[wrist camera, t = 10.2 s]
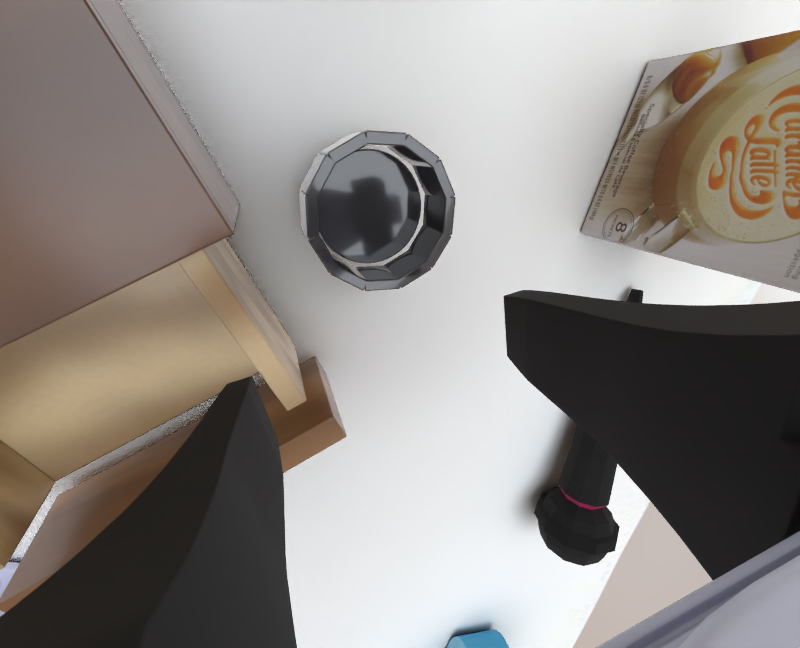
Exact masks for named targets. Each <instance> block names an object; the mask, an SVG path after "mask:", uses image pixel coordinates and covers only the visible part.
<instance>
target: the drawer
mask: <svg viewBox="0 0 800 648" xmlns="http://www.w3.org/2000/svg"><path fill="white" fill-rule="evenodd" d="M258 372H259V373H260V375H261V376H262V377H263V379H264V380H265V381H266V383H265V384H263V385H261V386H259V387H258V388H257V389H258V392H259V394H260V397H261V399H262V402H263V404H264V407H265V409H266V411H267V414H268V416H269V419H270V421H271V424H272V426H273V428H274V431H275V433H276V436H277V439H278V445H279V450H280V456H281V462H282V469H283V473H284V472H286V471H287V470H289V469H291V468H293V467H294V466H296V465H298V464H300V463H301V462H303V461H305V460H307V459H308V458H310V457H312V456H314V455H315V454H317V453H319V452H321V451H322V450H324V449H326V448H327V447H329V446H331V445H333V444H334V443H336V442H338V441H340V440H341V439H343V438H345V437H346V433H345V430H344V427H343V424H342V421H341V418H340V415H339V412H338V409H337V406H336V402H335V399H334V396H333V393H332V390H331V387H330V384H329V381H328V378H327V375H326V373H325V371H324V370H323V368H322V366H321V365H320V363H319V362H318V360H317V358H316V357H313V358H311V359H309V360H307V361H306V362H304V363H302V364H300V365H299V363H298V358H297V354H296V350H295V345H294V343H293V342H292V340H291V339H290V337H289V336H288V334H287V332H286V331H285V329H284V328H283V326H282V325H281V323H280V322H279V320H278V319H277V317H276V316H275V314H274V312H273V311H272V309H271V308H270V306H269V305H268V303H267V302H266V300H265V299H264V297H263V295H262V294H261V292H260V291H259V289H258V288H257V286H256V285H255V283H254V282H253V280H252V278H251V277H250V275H249V274H248V272H247V271H246V269H245V268H244V266H243V265H242V263H241V261H240V260H239V258H238V257H237V255H236V254H235V252H234V251H233V249H232V248H231V246H230V245H229V243H228V241H227V240H226V238H225V239H223V240H221V241H219V242H217V243H215V244H212V245H210V246H208V247H206V248H204V249H202V250H200V251H198V252H196V253H194V254H192V255H190V256H188V257H186V258H184V259H182V260H180V261H178V262H176V263H174V264H172V265H170V266H167V267H165V268H163V269H161V270H159V271H157V272H155V273H153V274H151V275H149V276H147V277H145V278H143V279H141V280H139V281H137V282H135V283H133V284H131V285H129V286H127V287H125V288H123V289H120V290H118V291H116V292H114V293H112V294H110V295H108V296H106V297H104V298H102V299H100V300H98V301H96V302H94V303H92V304H90V305H88V306H86V307H84V308H82V309H80V310H78V311H76V312H73V313H71V314H69V315H67V316H65V317H63V318H61V319H59V320H57V321H55V322H53V323H51V324H49V325H47V326H45V327H43V328H41V329H39V330H37V331H35V332H33V333H31V334H28V335H26V336H24V337H22V338H20V339H18V340H16V341H14V342H12V343H10V344H8V345H6V346H4V347H2V348H0V570H1V569H3V568H4V567H5V566H6V564H7V563H8V561H9V559H10V558H11V556H12V554H13V553H14V551H15V549H16V548H17V546H18V544H19V543H20V541H21V539H22V537H23V536H24V534H25V532H26V531H27V529H28V527H29V526H30V524H31V522H32V521H33V519H34V517H35V516H36V514H37V512H38V511H39V509H40V507H41V505H42V504H43V502H44V500H45V499H46V497H47V495H48V494H49V492H50V490H51V489H52V487H53V485H54V484H55V481H57V480H59V479H61V478H63V477H65V476H67V475H68V474H70V473H72V472H74V471H76V470H78V469H80V468H81V467H83V466H85V465H87V464H89V463H91V462H93V461H94V460H96V459H98V458H100V457H102V456H104V455H106V454H107V453H109V452H111V451H113V450H115V449H117V448H119V447H121V446H122V445H124V444H126V443H128V442H130V441H132V440H134V439H135V438H137V437H139V436H141V435H143V434H145V433H147V432H148V431H150V430H152V429H154V428H156V427H158V426H160V425H161V424H163V423H165V422H167V421H169V420H171V419H173V418H175V417H176V416H178V415H180V414H182V413H184V412H186V411H188V410H189V409H191V408H193V407H195V406H197V405H199V404H201V403H202V402H204V401H206V400H208V399H210V398H212V397H214V396H215V395H217V394H219V393H220V392H221V391H222V390H223V388H224V387H225V386H226V384H228V383H231V382H234V381H237V380H241V379H244V378H247V377H250V376H253V375H255V374H256V373H258ZM202 418H203V417H202ZM202 418H200V419H198V420H197V421H195V422H193V423H191V424H189V425H187V426H186V427H184V428H182V429H180V430H178V431H176V432H175V433H173V434H171V435H169V436H167V437H165V438H163V439H162V440H160V441H158V442H156V443H154V444H152V445H151V446H149V447H147V448H145V449H143V450H141V451H139V452H138V453H136V454H134V455H132V456H130V457H128V458H127V459H125V460H123V461H121V462H119V463H117V464H115V465H114V466H112V467H110V468H108V469H106V470H104V471H103V472H101V473H99V474H97V475H95V476H93V477H91V478H90V479H88V480H86V481H84V482H82V483H80V484H79V485H77V486H75V487H73V488H71V489H69V490H67V491H66V492H64V493H62V494H60V495H58V496H57V498H56V500H55V502H54V503H53V505H52V507H51V509H50V511H49V512H48V514H47V516H46V518H45V519H44V521H43V523H42V525H41V527H40V528H39V530H38V532H37V534H36V535H35V537H34V539H33V541H32V542H31V544H30V546H29V548H28V550H27V551H26V553H25V555H24V557H23V558H22V560H21V562H20V564H19V566H18V567H17V569H16V571H15V573H14V574H13V576H12V578H11V580H10V582H9V583H8V585H7V587H6V589H5V590H4V592H3V594H2V596H1V598H0V610H1V611H3V612H5V613H6V612H7V611H8V610H10V609H11V608H12V607H13V606H15V605H16V604H17V603H18V602H20V601H21V600H22V599H23V598H25V597H26V596H27V595H28V594H30V593H31V592H32V591H33V590H35V589H36V588H37V587H38V586H40V585H41V584H42V583H43V582H45V581H46V580H47V579H48V578H49V577H51V576H52V575H53V574H54V573H55V572H57V571H58V570H59V569H60V568H61V567H63V566H64V565H65V564H66V563H67V562H68V561H70V560H71V559H72V558H73V557H74V556H75V555H77V554H78V553H79V552H80V551H81V550H82V549H83V548H84V547H85V546H86V545H87V544H89V543H90V542H91V541H92V540H93V539H94V538H95V537H96V536H97V535H98V534H99V533H100V532H102V531H103V530H104V529H105V528H106V527H107V526H108V525H109V524H110V523H111V522H112V521H114V520H115V519H116V518H117V517H118V516H119V515H120V514H121V513H122V512H123V511H124V510H125V509H126V508H127V507H128V506H129V505H130V504H131V503H132V502H133V501H134V500H135V499H136V498H137V497H138V496H139V495H140V494H141V493H142V492H143V491H144V489H145V488H146V487H147V486H148V485H149V484H150V483H151V482H152V481H153V480H154V479H155V478H156V476H157V475H158V474H159V473H160V472H161V471H162V470H163V468H164V467H165V466H166V465H167V464H168V462H169V461H170V460H171V459H172V457H173V456H174V455H175V454H176V452H177V451H178V450H179V449H180V447H181V446H182V445H183V444H184V442H185V441H186V440H187V439H188V437H189V436H190V435H191V433H192V432H193V431H194V429H195V428H196V426H197V425H198V424H199V422H200V421H201V419H202Z"/></svg>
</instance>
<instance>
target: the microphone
mask: <svg viewBox="0 0 800 648" xmlns="http://www.w3.org/2000/svg"><path fill="white" fill-rule="evenodd" d="M642 298H643V291H641V290H636V289H632V290H631V292H630V294H629V297H628V299H627V301H626V302H633V303H642ZM616 467H617V462H616V461H615V460H614V459H613V458H612V457H611V456H610V455H609V454H608V453H607V452H606V451H605V450H604V449H603V447H602V446H601V445H600V444H599V443H598V442H597V441H596V440H595V439H594V438H593V437H592V436H591V435H590V434H588V433H587V432H586V431H585V430H584V429H583V428H582V427H581V426H580V425H577V428H576V431H575V434H574V437H573V440H572V443H571V446H570V450H569V453H568V456H567V459H566V462H565V465H564V468H563V471H562V474H561V477H560V481H559V486H560V487H557V488H553V489H552V490H551V491H550V492H544V493H543V494H542V496H541V497H540V499H539V501H538V503H537V505H536V509H535V512H534V513H535V515H536V517H537V519H538V525H539V530H540V534H541V536H542V538H543V540H544V542H545V544H546V546H547V547H548V548H549V549H550V550H552V551H553V552H554V553H555V554H557V555H558V556H559V557H561V558H562V559H563V560H565V561H568V562H571V563H575V564H578V565H582V566H585V565H589V564H594V563H598V562H599V561H600V560H601V559H603V558H604V557H605V555H606V554H607V553H608V552H612V551H615V547H616V542H617V537H618V532H619V526H618V524H617V523H616V522H615V521H614V519H613V516H612V513H611V512H610V511H609V509H608V508H607V507H606V506H607V505H608V504H609V500H610V495H611V491H612V486H613V481H614V476H615V472H616Z"/></svg>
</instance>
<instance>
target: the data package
mask: <svg viewBox="0 0 800 648" xmlns="http://www.w3.org/2000/svg"><path fill="white" fill-rule="evenodd" d="M447 648H509V647H508V645H507V643H506V641H505V639H504V637H503V636H502V635H501V634H500V633H499V632H498V631H496V630H487V631H482V632H477V633H471V634H466V635H461V636H455V637H453V638H452V639H451V640H450V642H449V644H448V646H447Z"/></svg>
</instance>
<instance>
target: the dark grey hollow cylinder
mask: <svg viewBox="0 0 800 648" xmlns="http://www.w3.org/2000/svg"><path fill="white" fill-rule="evenodd" d="M364 146H383V147H388V148H389V149H391V150H392V151H393V152H395V153H396V154H397V155H399V156H400V157H402V158H403V159H404V160H406V161H407V162H408V163H410V164H411V165H412V166H413V168H414V170H415V173H416V175H417V177H418V179H419V182H420V184H421V186H422V188H423V191H424V193H425V202H424V219H423V226H422V227H421V229H420V231H419V233H418V234H417V236H416V238H415V239H414V241H413V243H412V245H411V246H410V248H409V250H408V251H406V252H405V253H403V254H402V255H400V256H398V257H397V258H395V259H394V260H392V261H390V262H389V263H387V264H386V265H384V266H366V267H354V266H352V265H350V264H348V263H347V262H345V261H343V260H341V259H339V258H337V257H335V256H333V255H331V254H330V252H329V250H328V249H327V247H326V246H325V244H324V242H323V241H322V239H323V240H324V241H325V243H326V244H327V245H328V246H329V247H330V248H331V249H332V250H333V251H334V252H335V253H337V254H338V255H340V256H341V257H343V258H345V259H348V260H350V261H354V262H358V263H376V262H380V261H383V260H386V259H388V258H390V257H392V256H394V255H395V254H397V253H398V252H400V251H401V250H402V249H403V248H404V247H405V246H406V245H407V243H408V242H409V241H410V239H411V238H412V236H413V234H414V233H415V231H416V228H417V225H418V222H419V218H420V211H421V200H420V193H419V189H418V186H417V183H416V181H415V179H414V177H413V175H412V174H411V172H410V171H409V169H408V168H407V167H406V166H405V165H404V164H403V163H402V162H401V161H400V160H399V159H397V158H396V157H394V156H393V155H391V154H389V153H386V152H384V151H380V150H375V149H361V148H363V147H364ZM300 189H301V190H299V200H300V218H301V228H302V231H303V233H304V235H305V236H306V238H307V239H308V241H309V243H310V244H311V246H312V247H313V249H314V250H315V252H316V253H317V255H318V257H319V258H320V260H321V261H322V263H323V264H324V266H325V267H326V269H327V271H328V272H329V273H331V275H333V276H335V277H337V278H339V279H341V280H343V281H345V282H347V283H349V284H351V285H353V286H355V287H357V288H359V289H361V290H365V291H372V290H387V289H399V288H400V287H401V288H402V287H404V286H406V285H407V284H409V283H410V282H412V281H414V280H415V279H417V278H418V277H420V276H421V275H423V274H425V273H426V272H428V271H429V270H431V268H430V267H432V268H433V266H434V265H435V263H436V261H437V260H438V258H439V256H440V255H441V253H442V251H443V250H444V248H445V246H446V245H447V243H448V241H449V240H450V238H451V236H450V235H452V229H453V218H454V207H455V197H453V196H454V195H455V194H454V191H453V189H452V186H451V184H450V181H449V179H448V176H447V174H446V171H445V169H444V167H443V164H442V162H441V160H439V157H438V156H437V155H435V154H434V153H433V152H431V151H430V150H429V149H428V148H426V147H425V146H424V145H422V144H421V143H420V142H418V141H417V140H416V139H414V138H413V137H412V136H411V135H409V134H406V133H400V132H385V131H369V130H366V131H361V132H355V133H351V134H348V135H347V136H345V137H343V138H342V139H340V140H338V141H337V142H335V143H333V144H331V145H330V146H328V147H326V148H325V149H323V150H321V151H320V152H319V154H317V155H316V157H315V159H314V161H313V163H312V164H311V166H310V168H309V170H308V172H307V174H306V176H305V178H304V180H303V182H302V184H301V186H300ZM319 235H320V236H321V238H322V239H321V238H320V236H319Z"/></svg>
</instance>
